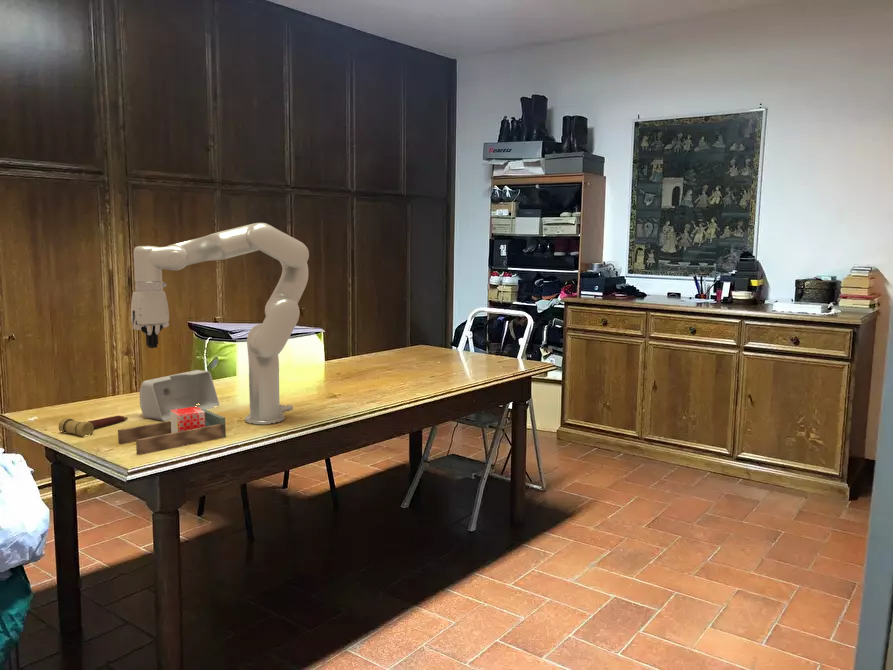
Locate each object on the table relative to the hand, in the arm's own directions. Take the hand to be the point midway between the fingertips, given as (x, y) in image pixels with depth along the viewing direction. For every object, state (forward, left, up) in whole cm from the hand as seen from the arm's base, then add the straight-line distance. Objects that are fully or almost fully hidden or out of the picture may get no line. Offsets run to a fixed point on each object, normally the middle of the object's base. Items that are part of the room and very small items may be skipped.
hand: (152, 347), depth 219 cm
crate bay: (+1, +14, -26) cm, 30 cm away
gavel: (+12, -14, -27) cm, 32 cm away
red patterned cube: (-4, +13, -26) cm, 30 cm away
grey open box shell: (-15, -19, -26) cm, 36 cm away
